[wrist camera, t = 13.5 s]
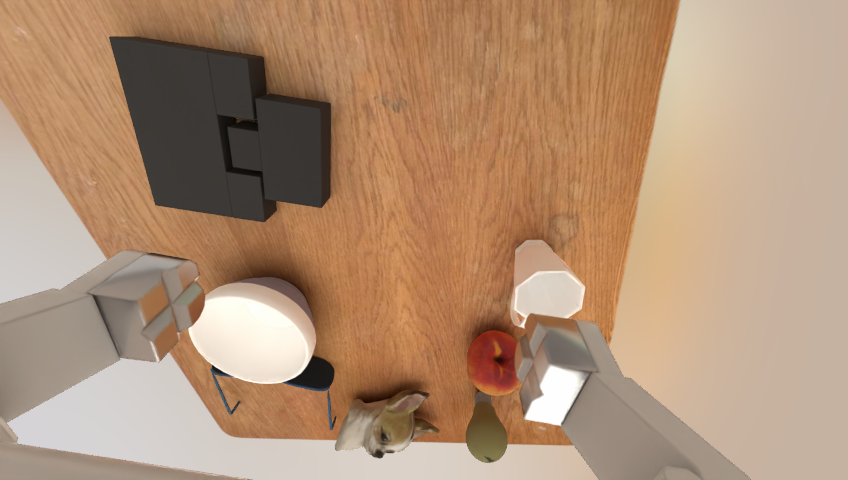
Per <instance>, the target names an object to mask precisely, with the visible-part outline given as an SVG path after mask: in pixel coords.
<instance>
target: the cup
mask: <svg viewBox="0 0 848 480" xmlns="http://www.w3.org/2000/svg"><path fill="white" fill-rule="evenodd" d="M584 292H585V286H584V285H583V283H582V282H581V281H580V280H579V279H578V278H577V276H576V275H575V274H574V273H573V272H572V270H571V269H570V268H569V267H568V266H567V264H566V263H565V262H564V261H563V260H562V259H561V258H560V257H558V256H557V255H556V254H555V253H554V252H553V251H552V248H551V247H550V246H548V245H547V244H546V243H545V242H544V241H543V240H526V241H525V242H524V243H522V244H521V245H520V246H519V247H518V248H516V250H515V268H514V291H513V294H512V298H511V304H510V315H511V319H512V321H513V323H514V325H515V326H519V327H522V328H525V326H524V324H525V322H526V319H527V317H528V316H529V314H530V313H534V314H541V315H548V316H554V317H561V318H568V317H570V316H571V315H573V314H574V313H576V312H577V311H579V310H581V308H582V303H583V297H584ZM517 312H518V313H519V314H520V315H522V316H523V317H524V318H523V319H522V321H521V322H520V321H519V319H518V316H517Z"/></svg>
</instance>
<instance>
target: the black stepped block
mask: <svg viewBox="0 0 848 480" xmlns="http://www.w3.org/2000/svg"><path fill="white" fill-rule="evenodd" d="M255 100H256V111H257V121H258V123H256V122H250V121H241V122H238V123H236V124H233V125H231V126H228V127H227V128H228V135H229V143H230V150H231V157H232V164H233V167H237V168H243V169H249V170H256V171H262V172H263V182H264V192H265V199H269V200H275V201H281V202H288V203H294V204H300V205H307V206H313V207H319V208H322V207H323V205H324V204H325V203H326V202H327V200H328V199H329V198H330V138H331V104H330V103H325V102H319V101H313V100H306V99H300V98H294V97H288V96H281V95H275V94H268V95H265V96H261V97H258V98H255Z"/></svg>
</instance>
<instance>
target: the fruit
mask: <svg viewBox="0 0 848 480" xmlns="http://www.w3.org/2000/svg"><path fill="white" fill-rule="evenodd" d="M516 346H517V341H516V340H515V339H514V338H513V337H512V336H510V335H509V334H506V333H504V332H501V331H496V330H490V331H486V332H484V333H482V334H481V335H479V336H478V337H477V338H476V339H475V340H474V341H473V342H472V344H471V346H470V348H469V350H468V353H467V365H468V374H469V377H470V379H471V381H472V382H473V384H474V385H475V386H476V387H477V388H478V389H479V390H480V391H482V392H484V393H486V394H488V395H505V394H509V393H511V392H512V391H514V390H515V389H516V388H517V387H518V386H519V385H520V383H521V382H520V381H519V379H518V378H517V377H516V373H515V362H514V358H515V350H516Z"/></svg>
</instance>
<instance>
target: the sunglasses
mask: <svg viewBox="0 0 848 480" xmlns="http://www.w3.org/2000/svg"><path fill="white" fill-rule="evenodd" d="M211 372H212V375H213V378H214V381H215V383H216V386H217V388H218V390H219V393H220V395H221V397H222V400H223V402H224V404H225V406H226V408H227V411H228V413H229V414H230V415H231V414H233V412H234V411H235V409H236V408H237V407H238V405H239V404H240V402H238V403H237V404H236V406H235V407H234V408H233V410H232V411H230V408H229V406H228V404H227V402H226V399H225V397H224V395H223V393H222V390H221V388H220V386H219V384H218V381H217V379H216V377H215V376H214V374H215V375H219V376H227V377H233V376H231V375H229V374H227V373H225V372H223V371H221V370H220V369H218V368H216V367H215V366H213V365H212V369H211ZM333 379H334V368H333V367H332V365H331V364H330V363H329V362H327V361H326V360H324V359H321V358H319V357H314V356H312V357H311V359H310V361H309V363H308V365H307V366H306V368H305V369H304V370H303V371H302V373H301V374H299V375H298V376H296V377H295V378H293V379H290V380H288V381H285V382H283V383H285V384H288V385H292V386H296V387H300V388H305V389H310V390H315V391H326V390H328V389H329V388H330V387H329V386H330V385H331V384H332V382H333ZM328 411H329V424H330V430H332V429H333V427H334V423H335V420H336V416H335V418H334V421H333V423H332V419H331V405H330V396H329V391H328Z"/></svg>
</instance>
